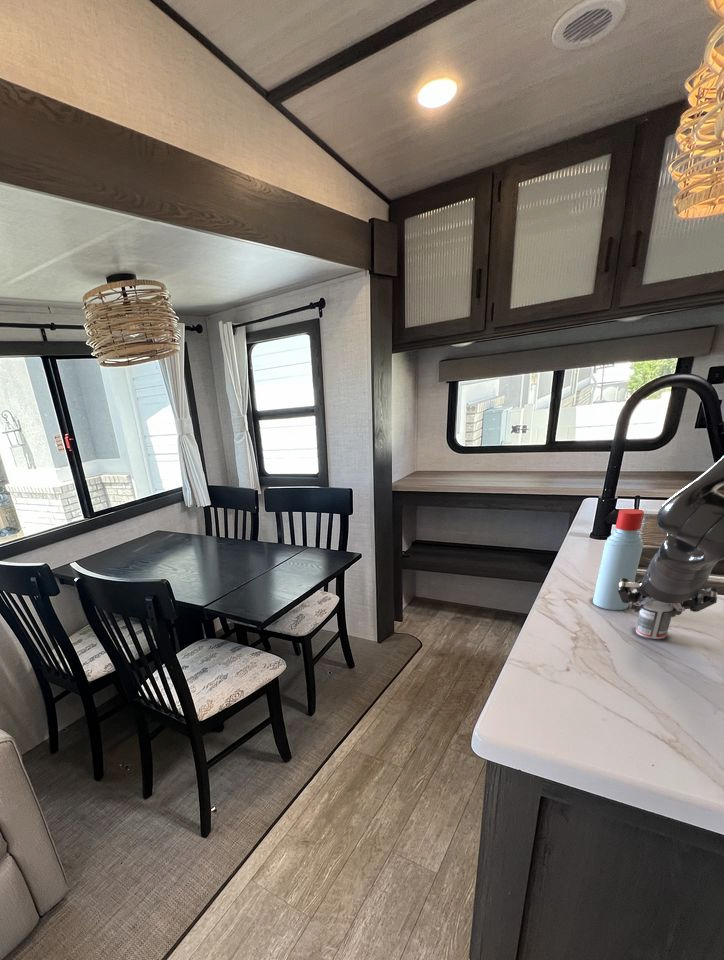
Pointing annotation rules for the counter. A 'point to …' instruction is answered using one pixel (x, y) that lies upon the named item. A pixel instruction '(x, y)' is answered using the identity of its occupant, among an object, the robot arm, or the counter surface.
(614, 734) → the counter surface
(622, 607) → the water bottle
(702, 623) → the counter surface
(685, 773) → the counter surface
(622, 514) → the cap
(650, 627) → the pill bottle
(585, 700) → the counter surface
